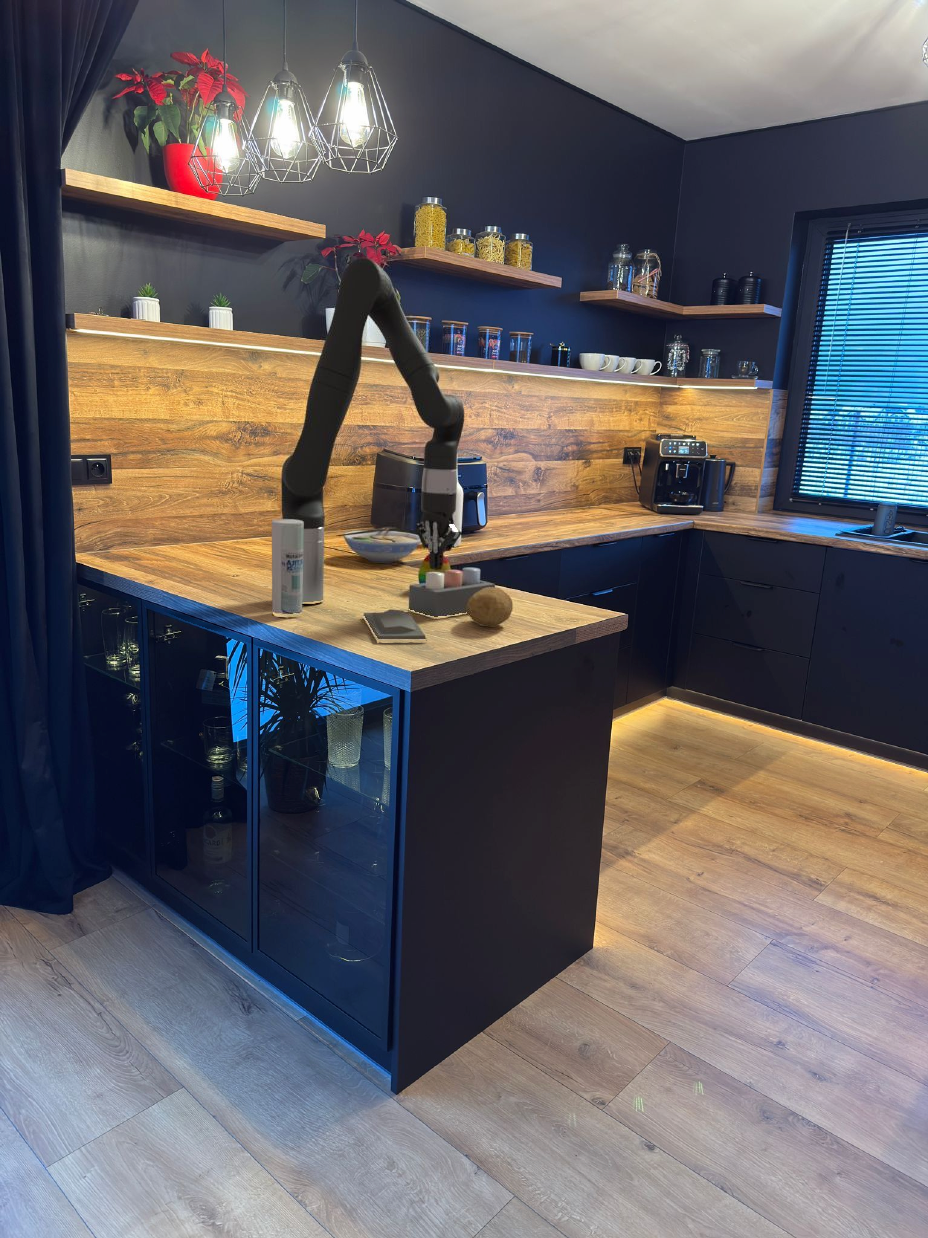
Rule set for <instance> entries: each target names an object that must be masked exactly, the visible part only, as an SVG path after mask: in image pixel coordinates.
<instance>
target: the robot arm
mask: <svg viewBox="0 0 928 1238" xmlns="http://www.w3.org/2000/svg"><path fill="white" fill-rule="evenodd" d="M402 308H403V307H401V304H400V302H399V298H398V296H397V293H396V290H395V289H394V286H393V283H392V280H391V278H390V276H389V275H388V273H387V272H386V271H385V270H384V269H383V268H382V267H381V266H380V265H379V264H378V263H376V262H375V261H374V260H372V259H370V258H369V257H358V258H355V259H353V260H352V261H350V263H349V264H348V265H347V266H346V267H345V269H344V271H343V272H342V275H341V279H340V282H339V288H338V293H337V297H336V302H335V306H334V310H333V315H332V320H331V322H330V326H329V329H328V330H327V331H328V332H327V334H326V336H325V337H326V338H325V340H324V344H323V347H322V350H321V353H320V356H319V359H318V361H317V363H316V367H315V370H314V373H313V377H312V380H311V384H310V388H309V390H308V396H307V401H306V408H305V413H304V414H305V415H304V422H303V427H302V431H301V433H300V435H299V438H298V441H297V443H296V445H295V448H294V451H293V452H292V454H291V455H289V456H288V457H287V458H286V459H285V461H284V463H283V464H282V468H281V480H280V481H281V488H280V489H281V515H282V516H281V519H294V520H301V521H303V522H304V531H303V586H302V602H314V601H321V600H323V601H324V581H325V580H324V579H325V578H324V572H325V571H324V569H325V568H324V566H325V562H324V561H325V516H326V515H325V509H324V487H325V485H326V482H327V478H328V473H329V469H330V463H331V459H332V454H333V449H334V446H335V443H336V439H337V437H338V434H339V432H340V431H341V430H340V429H341V427H342V425H343V423H344V420H345V419H346V415H347V413H348V410H349V409H350V408H349V407H350V405H351V403H352V400H353V397H354V394H355V392H356V388H357V385H358V382H359V379H360V375H361V370H362V355H363V352H362V351H363V336H364V330H365V326H366V323H367V320H368V317H369V318H370V319H371V320H372V321H373V322H374V324H375V325H376V327H377V329H379V331H380V333H381V335H382V336H383V338H384V341H385V342H386V345H387V347H388V351H389V353H390V355H391V358H392V360H393V363H394V364H395V366H396V367H397V369H398V371H399V372H398V373H400V374H401V377H402V379H403V380H404V382H405V384H406V385H407V387H408V388H409V390H410V393H411V397H412V401H413V403H414V406H415V409H416V412H417V414H418V416H419V417H420V419H421V420H422V422H424V424H425V425H426V426H428V427H429V428H432V429H433V433H432V437H431V439H430V440H429V441H427V442H426V443H425V445H424V451H423V472H422V478H421V479H422V480H421V500H420V501H421V502H420V503H421V505H420V509H421V511H422V512H423V515H422V519H421V520H422V521H420V522H419V523H415V524H414V529H415V531H416V533H417V534H416V535H418V536H419V538H420V540H421V541H420V543H421V544H422V547H423V548H424V549H427V550H428V552H429V554H430V560H429V564H430V569H433V570H440V569H441V568H442V566H443V555H444V553H445V552H450V551H452V549H453V548H454V547H453V546H454V544H455V543H456V541H457V540H458V538H459V537H460V535H461V536H462V530H461V531H460V530H456V528H455V527H454V520H453V513H454V512H455V511H456V494H457V473H456V469H457V470H458V459H457V458H458V456H457V454H458V447H459V444H460V442H461V437H462V432H463V428H464V425H465V407H464V405H463V403H462V401H461V400H460V398H459V397H457V396H456V395H453V394H444V393H443V391H441V388H440V386H439V381H440V373H439V371H438V369H437V367H436V366H435V363H434V362H433V361H432V358H431V357H430V355H429V354H428V352H427V350H426V349H425V347H424V346H423V344H422V343H421V341H420V339H419V338H418V336H417V334H416V333H415V331H414V330H413V329H412V325H410V323H409V321H408V319H407V317H406V315H405V312H404V310H403V309H402ZM440 543H441V544H440ZM452 547H453V548H452Z"/></svg>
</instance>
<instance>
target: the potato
mask: <svg viewBox="0 0 928 1238" xmlns="http://www.w3.org/2000/svg"><path fill="white" fill-rule="evenodd" d="M513 605H514V604H513V600H512V597H511V596H510V595H509V594H508V592H506V591H504V590H503V589H502V588H499V587H496V586H495V587H487V588H484V589H482V590H480V591H478V592H477V593H475V594H474V595H473V596H472V597H471V598H470V599H469V601H468V603H467V605H466V609H467V613H468V614H467V615H468V616H469V617H470V619H471V620H472V621H473V622H474V623H477V624H478V625H480V626H482V627H498V626H500V625H501V624H502V623H505V622H506V621H507V620H509V618H510V616H511V615H512V611H513V608H514V607H513ZM497 625H498V626H497Z"/></svg>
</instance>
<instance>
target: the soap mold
mask: <svg viewBox="0 0 928 1238" xmlns="http://www.w3.org/2000/svg"><path fill="white" fill-rule="evenodd" d="M363 616H365V618H366V620H367V621H368V623H369V625H370V627H371V628H372V630H373V632H374V633H375V635H376V636H377V638H378V639H426V640H427V637H426V635H425V633H424V632H423V630H422V629H421V628H420V626H419V625H418V623H417V622H416V621H415V620H414V618H413V617H412V616H411V614H410V612H409V611H404V610H402V609H388V610H386V611H383V612H364V613H363Z"/></svg>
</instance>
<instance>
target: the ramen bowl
mask: <svg viewBox="0 0 928 1238" xmlns="http://www.w3.org/2000/svg"><path fill="white" fill-rule="evenodd" d="M397 530H398V527H396V526H395V527H393V526H387V527H380V528H375V529H367V530H354V531H349V532H345V533H343V534H336V535H335V537H342V536H343V538H344V542H346V544H347V545H348V547H349V548H350V549H351V551H352V552H354V553H355V554H356V555H358V556H359V557H361V558H363V559H366V560H368V561H369V562H372V563H376V564H392V563H394V562H396V561H398V560H402V559H404V558H407V557H408V556H410V555H411V554H412V553H413V552H414V551H415V550H416V548H417V547H418V546H419V544H420V543H421V540H420V538H419V536H418V534H415V533H410V532H403V531H397Z"/></svg>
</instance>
